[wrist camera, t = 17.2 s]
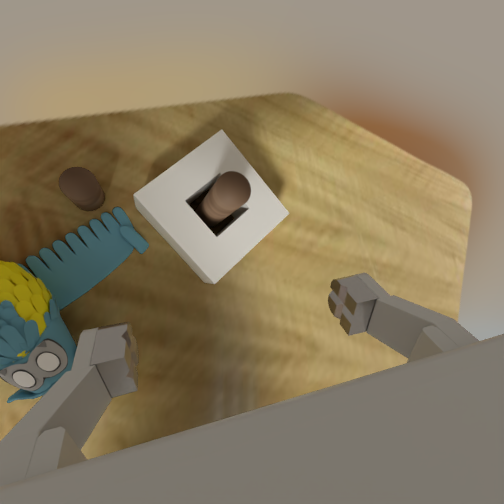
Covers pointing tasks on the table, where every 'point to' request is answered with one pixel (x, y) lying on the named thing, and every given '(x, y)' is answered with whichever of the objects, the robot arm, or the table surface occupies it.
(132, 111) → the table surface
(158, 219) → the hole block
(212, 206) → the long pin
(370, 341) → the table surface
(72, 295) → the blue yellow bird figure
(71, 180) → the short pin
